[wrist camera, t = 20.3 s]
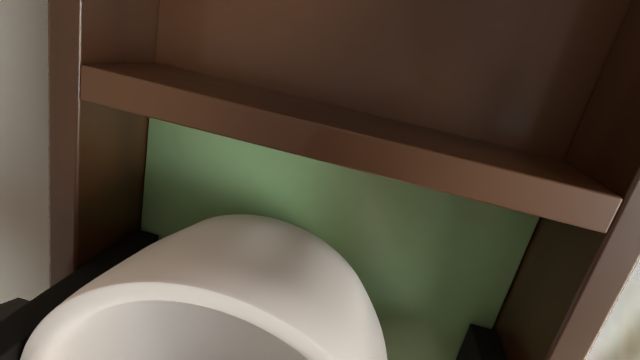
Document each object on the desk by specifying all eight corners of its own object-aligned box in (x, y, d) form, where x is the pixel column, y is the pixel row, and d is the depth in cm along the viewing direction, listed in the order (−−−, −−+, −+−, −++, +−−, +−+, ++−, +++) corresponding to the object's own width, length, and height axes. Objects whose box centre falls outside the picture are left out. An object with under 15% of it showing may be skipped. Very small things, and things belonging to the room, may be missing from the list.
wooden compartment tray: (874, -492, 7) (1313, -990, 4) (438, 488, 15) (452, 612, 12) (182, -553, 8) (39, -969, 5) (119, 384, 16) (49, 470, 13)
